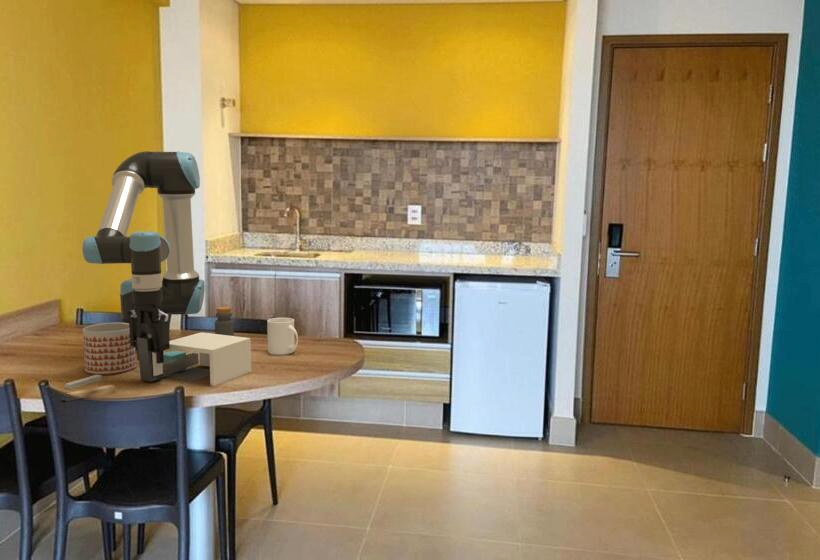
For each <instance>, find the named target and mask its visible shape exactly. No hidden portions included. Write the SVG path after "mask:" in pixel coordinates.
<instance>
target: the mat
mask: <svg viewBox="0 0 820 560" xmlns="http://www.w3.org/2000/svg"><path fill="white" fill-rule="evenodd" d="M133 372H134V373H139V369H138V370H134V371H133ZM164 377H166V378H172V379H177V380H185V381H191V382H195V381H197V380H200V379H203V378H206V377H210V369H208V368H207V369H206V368H201V367H193V366H190V367H187V368H186V370H182V371H179V372H175V373H170V374H168V375H165V376H163V378H164Z"/></svg>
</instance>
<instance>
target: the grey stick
mask: <svg viewBox="0 0 820 560" xmlns="http://www.w3.org/2000/svg"><path fill="white" fill-rule="evenodd" d="M102 380H103V375H91V376H87V377H84V378H80V379H76V380H74V381H70V382H67V383H65V384H64V388H65V389H67V390H72V389H76V388H79V387H82V386H85V385H89V384H92V383H96V382H99V381H102Z"/></svg>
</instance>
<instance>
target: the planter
mask: <svg viewBox="0 0 820 560" xmlns="http://www.w3.org/2000/svg"><path fill="white" fill-rule="evenodd" d="M82 339H83V342H82V343H83V357H84V372H85V373H87V374H88V375H91V376H93V375H102V376H112V375H113V376H114V375H119V374H120V375H121V374H125V373H128V372H131V371H133V370H134V369H136V367H137V350H135V347H134V346H133V347H132V346H131V345H130V331H129V323H122V322H103V323H96V324H91V325H87V326H85V327H83V328H82Z"/></svg>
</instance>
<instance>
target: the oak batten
mask: <svg viewBox="0 0 820 560" xmlns="http://www.w3.org/2000/svg"><path fill="white" fill-rule="evenodd" d="M66 393H67V394H71V395H75V396H82V397H90V398H94V397H99V396H100V397H101V396H105V395H109V394H115V393H116V386H115V385H113V384H107V385H103V386H96V387H92V388H87V389H86V388H85V389H80V390H75V391H70V392H66Z"/></svg>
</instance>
